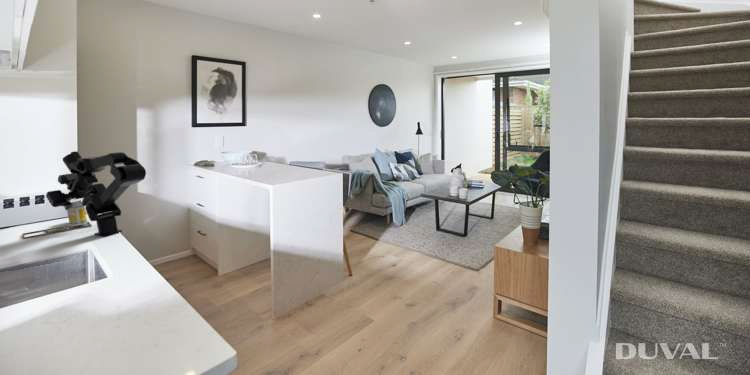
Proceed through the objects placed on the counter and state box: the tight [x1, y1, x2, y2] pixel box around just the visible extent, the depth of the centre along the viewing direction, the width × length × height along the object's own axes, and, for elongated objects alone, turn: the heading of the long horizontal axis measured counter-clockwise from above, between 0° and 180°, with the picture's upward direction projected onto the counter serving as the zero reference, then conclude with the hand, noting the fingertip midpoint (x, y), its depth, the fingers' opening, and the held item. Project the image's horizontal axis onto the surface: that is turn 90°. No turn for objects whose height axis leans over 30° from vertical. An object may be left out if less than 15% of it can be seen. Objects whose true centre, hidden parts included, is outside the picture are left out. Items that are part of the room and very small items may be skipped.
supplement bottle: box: [67, 199, 88, 226], centre depth 146 cm, size 5×5×10 cm
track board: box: [22, 221, 93, 240], centre depth 143 cm, size 20×7×1 cm, turn 135°
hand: (74, 207), depth 147 cm, fingers closed on supplement bottle, 5 cm apart
